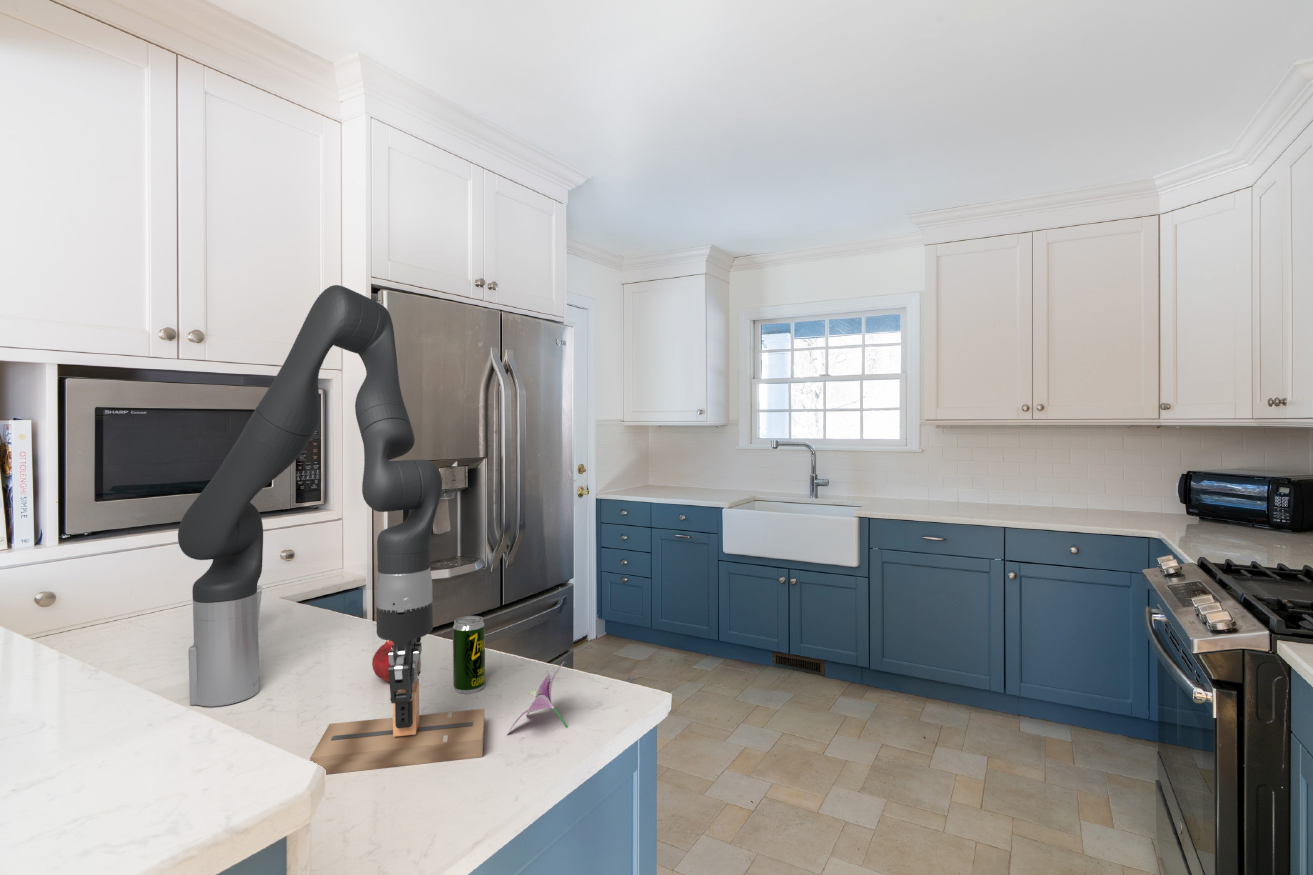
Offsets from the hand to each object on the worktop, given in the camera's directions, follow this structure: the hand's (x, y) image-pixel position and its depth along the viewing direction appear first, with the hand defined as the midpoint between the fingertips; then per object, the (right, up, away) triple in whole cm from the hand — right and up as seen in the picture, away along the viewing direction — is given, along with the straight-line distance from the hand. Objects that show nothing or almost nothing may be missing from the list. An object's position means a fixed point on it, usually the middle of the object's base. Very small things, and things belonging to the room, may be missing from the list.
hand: (406, 718), depth 96 cm
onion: (-12, -4, +24) cm, 27 cm away
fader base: (0, -4, 0) cm, 4 cm away
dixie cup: (-55, -3, +50) cm, 74 cm away
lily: (+18, -4, +7) cm, 20 cm away
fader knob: (0, -1, 0) cm, 1 cm away
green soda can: (+3, -4, +21) cm, 22 cm away
